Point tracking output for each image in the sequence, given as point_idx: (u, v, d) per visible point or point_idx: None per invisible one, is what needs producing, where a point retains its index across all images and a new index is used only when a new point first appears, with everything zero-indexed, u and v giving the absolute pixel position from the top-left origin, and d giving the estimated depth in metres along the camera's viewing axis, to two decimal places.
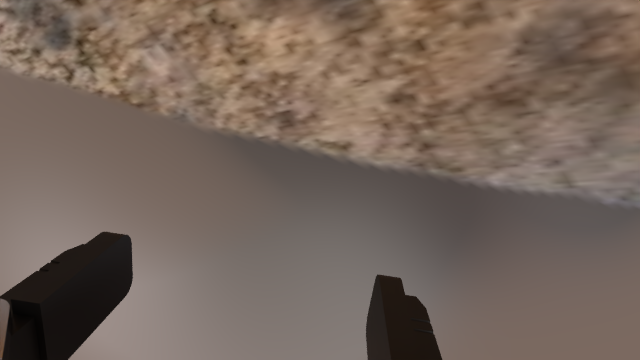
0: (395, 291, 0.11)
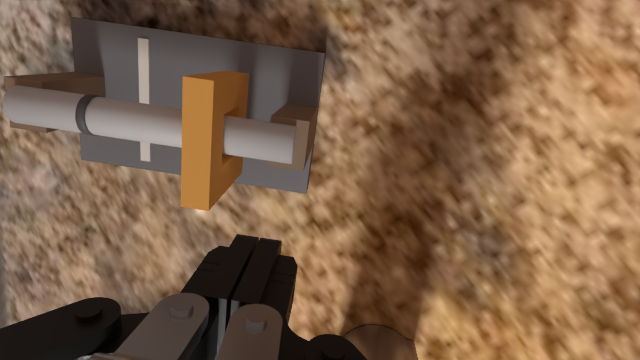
0: (268, 250, 0.12)
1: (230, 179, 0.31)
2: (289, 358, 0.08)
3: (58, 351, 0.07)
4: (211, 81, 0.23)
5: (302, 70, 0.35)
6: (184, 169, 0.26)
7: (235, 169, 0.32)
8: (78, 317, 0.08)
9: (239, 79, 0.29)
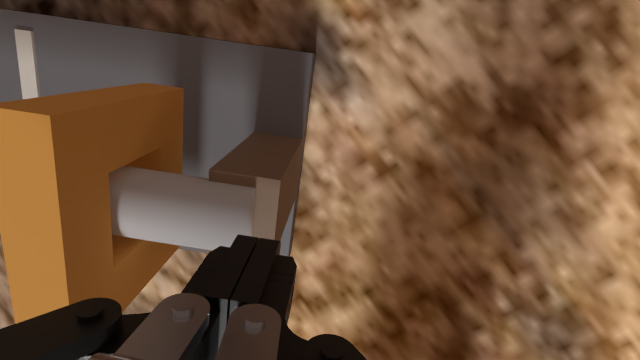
0: (268, 250, 0.12)
1: (148, 271, 0.18)
2: (288, 358, 0.08)
3: (60, 351, 0.07)
4: (44, 117, 0.10)
5: (277, 81, 0.22)
6: (16, 292, 0.12)
7: (161, 249, 0.19)
8: (79, 317, 0.08)
9: (155, 101, 0.16)
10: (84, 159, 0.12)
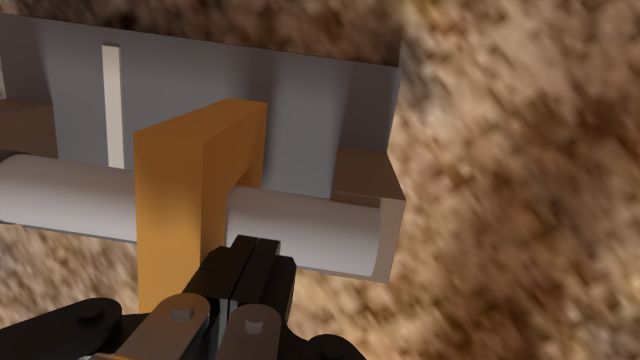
0: (267, 250, 0.12)
1: None
2: (288, 358, 0.08)
3: (60, 351, 0.07)
4: (198, 144, 0.10)
5: (365, 96, 0.22)
6: None
7: None
8: (79, 317, 0.08)
9: (253, 118, 0.16)
10: (216, 182, 0.12)
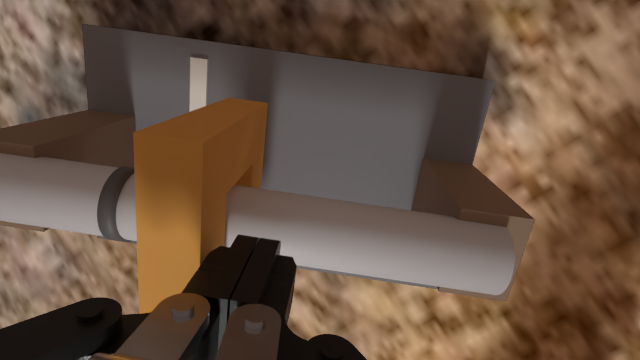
0: (267, 250, 0.12)
1: None
2: (288, 358, 0.08)
3: (60, 351, 0.07)
4: (198, 143, 0.10)
5: (454, 108, 0.22)
6: None
7: None
8: (79, 317, 0.08)
9: (253, 118, 0.16)
10: (216, 182, 0.12)
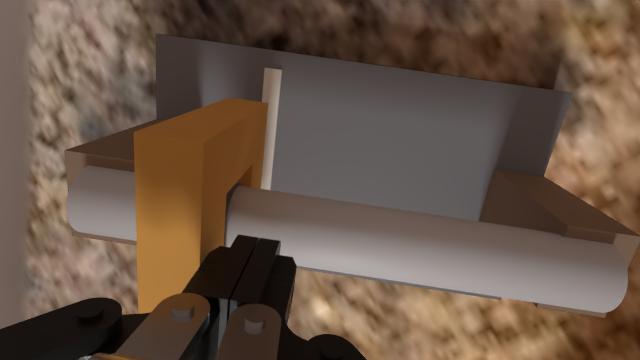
0: (267, 250, 0.12)
1: None
2: (288, 358, 0.08)
3: (60, 351, 0.07)
4: (198, 143, 0.10)
5: (529, 120, 0.22)
6: None
7: None
8: (79, 317, 0.08)
9: (253, 118, 0.16)
10: (216, 182, 0.12)
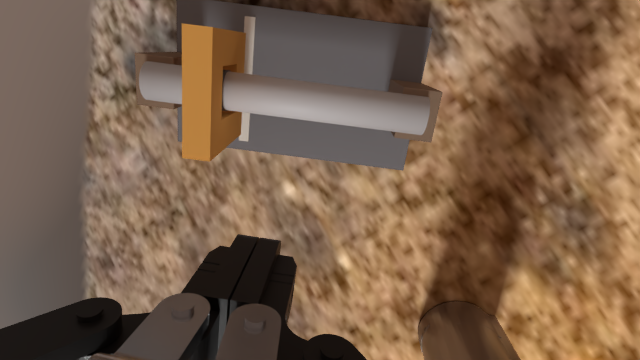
0: (267, 250, 0.12)
1: (229, 137, 0.31)
2: (288, 358, 0.08)
3: (60, 351, 0.07)
4: (210, 28, 0.24)
5: (408, 46, 0.35)
6: (185, 119, 0.26)
7: (234, 128, 0.33)
8: (79, 317, 0.08)
9: (236, 35, 0.30)
10: (218, 53, 0.26)
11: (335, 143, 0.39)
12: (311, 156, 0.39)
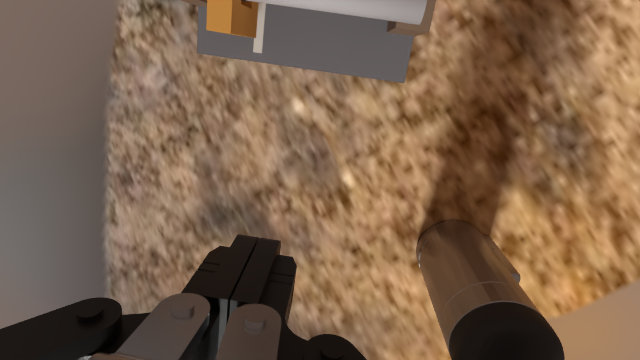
0: (268, 250, 0.12)
1: (247, 29, 0.35)
2: (288, 358, 0.08)
3: (60, 351, 0.07)
4: None
5: None
6: None
7: (251, 25, 0.36)
8: (79, 317, 0.08)
9: None
10: None
11: (342, 56, 0.42)
12: (319, 68, 0.43)
